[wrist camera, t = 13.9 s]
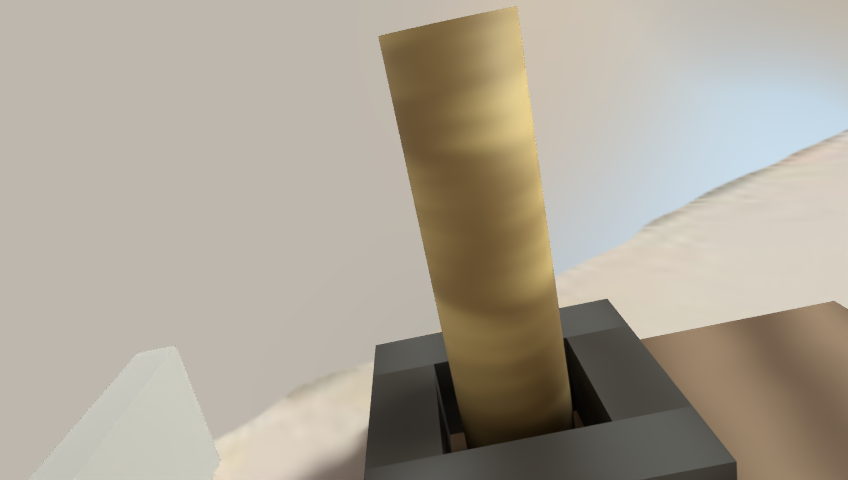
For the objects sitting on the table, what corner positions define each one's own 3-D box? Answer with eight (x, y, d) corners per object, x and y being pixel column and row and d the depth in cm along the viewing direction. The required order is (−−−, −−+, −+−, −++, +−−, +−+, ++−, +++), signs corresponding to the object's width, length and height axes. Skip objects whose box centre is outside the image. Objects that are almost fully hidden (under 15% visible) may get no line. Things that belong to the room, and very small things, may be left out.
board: (833, 328, 28) (836, 233, 27) (1211, 579, 15) (1262, 422, 13) (394, 414, 29) (371, 327, 27) (387, 727, 16) (342, 594, 14)
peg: (564, 424, 24) (504, 10, 18) (595, 497, 20) (530, 2, 15) (468, 442, 24) (381, 36, 18) (480, 519, 20) (375, 35, 15)
